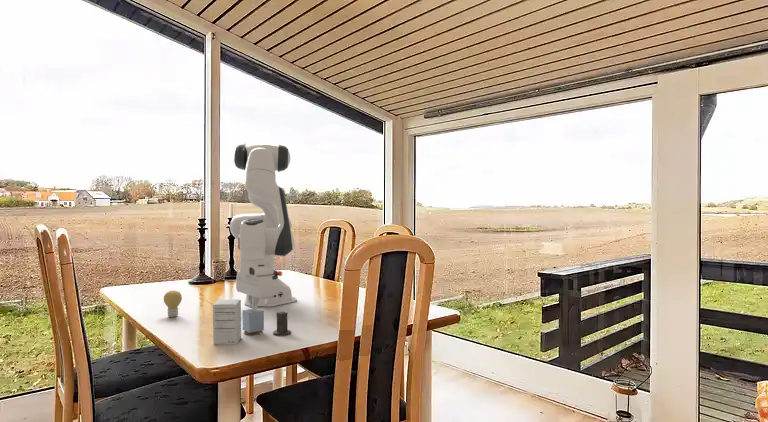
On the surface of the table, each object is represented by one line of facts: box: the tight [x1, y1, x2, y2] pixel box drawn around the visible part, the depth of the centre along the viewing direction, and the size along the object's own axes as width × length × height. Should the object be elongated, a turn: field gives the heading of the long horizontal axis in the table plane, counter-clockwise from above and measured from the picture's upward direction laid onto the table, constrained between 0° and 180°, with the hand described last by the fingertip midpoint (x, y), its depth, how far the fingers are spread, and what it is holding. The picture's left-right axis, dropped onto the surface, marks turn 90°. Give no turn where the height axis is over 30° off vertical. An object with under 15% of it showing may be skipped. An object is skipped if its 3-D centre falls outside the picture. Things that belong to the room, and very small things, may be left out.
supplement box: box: [212, 299, 242, 345], centre depth 156 cm, size 7×7×13 cm
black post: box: [272, 311, 292, 337], centre depth 165 cm, size 6×6×7 cm
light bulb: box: [163, 289, 183, 318], centre depth 189 cm, size 6×6×10 cm
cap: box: [242, 307, 265, 333], centre depth 166 cm, size 5×5×7 cm
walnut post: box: [243, 330, 264, 336], centre depth 166 cm, size 6×6×7 cm
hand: (253, 308), depth 165 cm, fingers closed
